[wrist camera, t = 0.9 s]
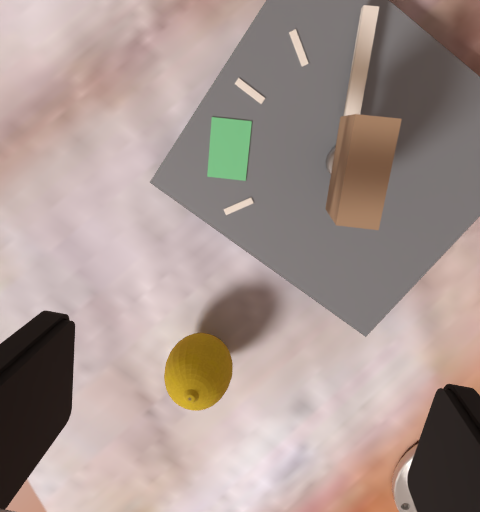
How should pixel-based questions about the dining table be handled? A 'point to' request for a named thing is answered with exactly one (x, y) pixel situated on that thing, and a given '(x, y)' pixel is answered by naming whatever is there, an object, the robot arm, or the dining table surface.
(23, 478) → the robot arm
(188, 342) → the lemon
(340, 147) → the wooden block with handle
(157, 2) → the dining table surface
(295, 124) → the board
